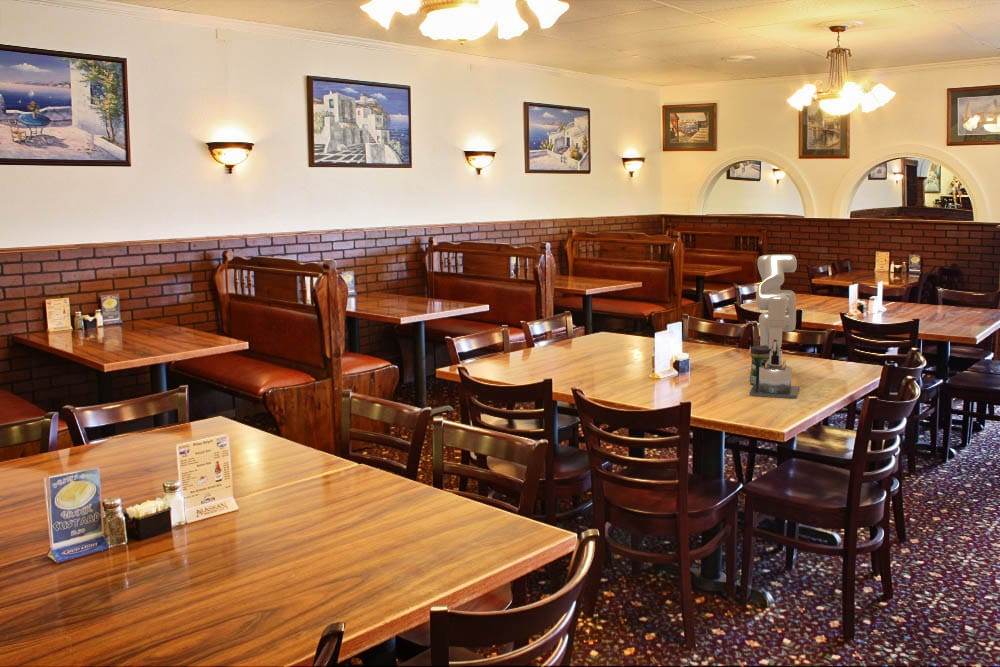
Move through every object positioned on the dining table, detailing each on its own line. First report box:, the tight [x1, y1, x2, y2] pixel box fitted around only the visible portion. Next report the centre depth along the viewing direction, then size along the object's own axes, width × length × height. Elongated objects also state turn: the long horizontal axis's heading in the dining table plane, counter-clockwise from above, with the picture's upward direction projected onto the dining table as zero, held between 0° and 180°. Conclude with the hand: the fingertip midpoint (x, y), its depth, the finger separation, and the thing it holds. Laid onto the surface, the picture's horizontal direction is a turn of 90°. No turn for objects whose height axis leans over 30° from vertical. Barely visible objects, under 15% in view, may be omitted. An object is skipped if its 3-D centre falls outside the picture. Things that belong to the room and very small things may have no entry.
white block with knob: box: [769, 348, 783, 366], centre depth 399 cm, size 5×5×8 cm
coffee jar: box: [749, 345, 771, 386], centre depth 418 cm, size 10×8×19 cm
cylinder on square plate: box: [749, 360, 800, 400], centre depth 400 cm, size 20×20×14 cm
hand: (775, 362), depth 399 cm, fingers closed on white block with knob, 4 cm apart
